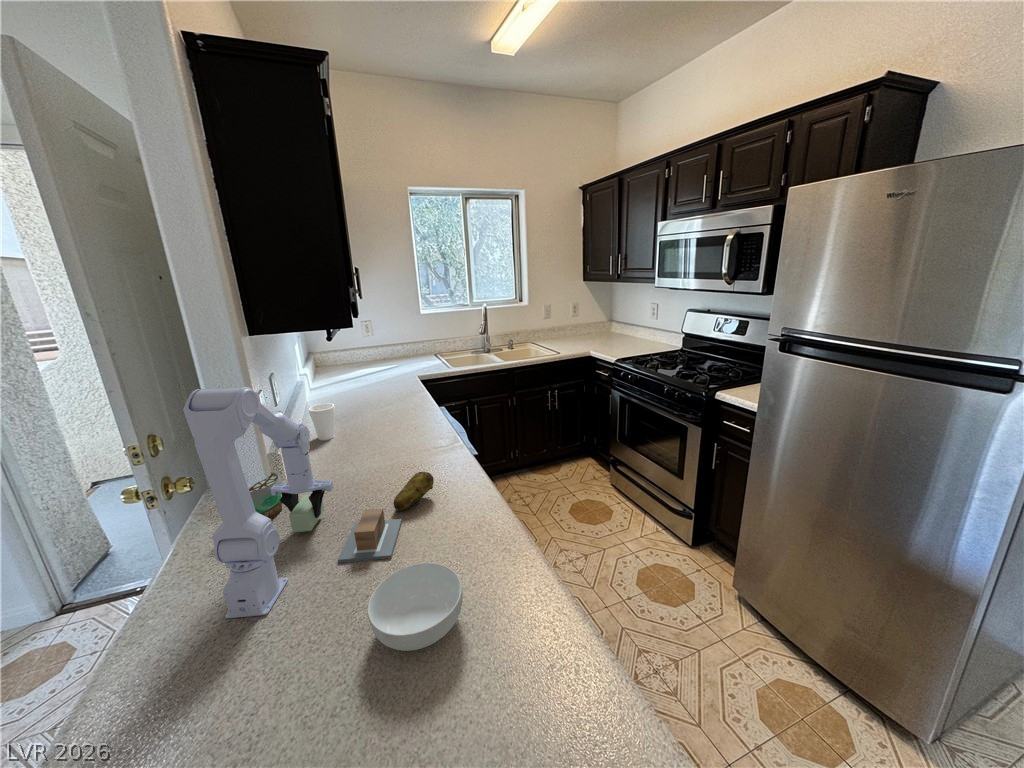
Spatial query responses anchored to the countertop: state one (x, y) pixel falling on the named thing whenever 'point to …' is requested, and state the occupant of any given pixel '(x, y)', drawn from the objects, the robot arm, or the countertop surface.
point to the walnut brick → (370, 529)
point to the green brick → (304, 515)
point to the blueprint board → (382, 551)
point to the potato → (413, 490)
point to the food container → (267, 496)
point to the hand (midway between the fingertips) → (308, 516)
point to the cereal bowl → (415, 606)
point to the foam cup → (323, 420)
